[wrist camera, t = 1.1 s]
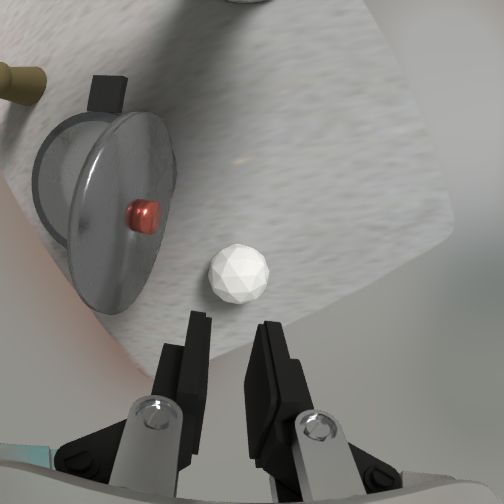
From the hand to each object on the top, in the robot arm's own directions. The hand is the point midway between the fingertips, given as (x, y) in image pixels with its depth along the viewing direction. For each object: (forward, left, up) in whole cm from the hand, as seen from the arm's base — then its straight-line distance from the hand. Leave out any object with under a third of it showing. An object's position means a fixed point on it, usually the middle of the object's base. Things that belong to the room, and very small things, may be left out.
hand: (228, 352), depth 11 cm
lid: (0, -8, -15) cm, 17 cm away
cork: (-12, -32, -33) cm, 48 cm away
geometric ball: (+10, +3, -33) cm, 35 cm away
